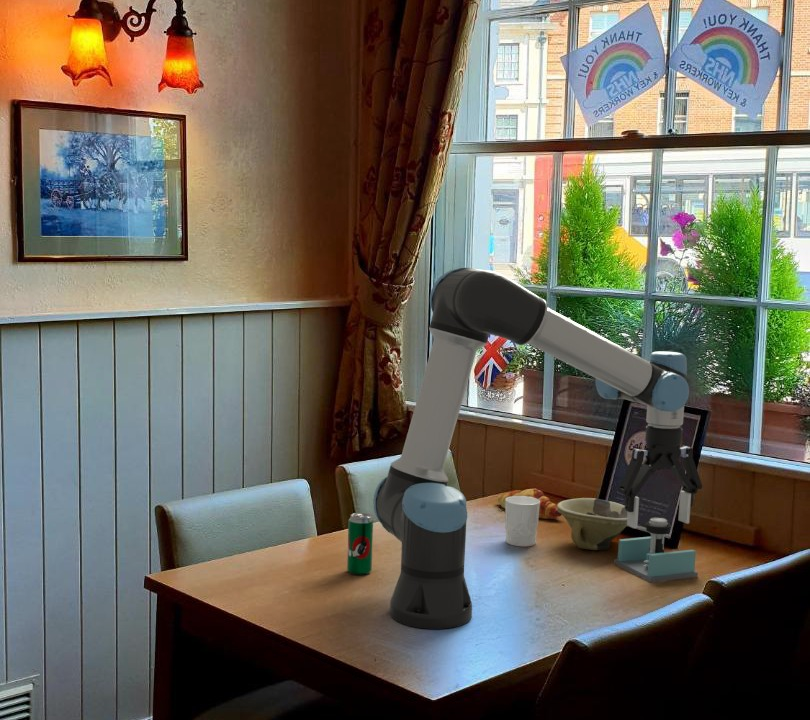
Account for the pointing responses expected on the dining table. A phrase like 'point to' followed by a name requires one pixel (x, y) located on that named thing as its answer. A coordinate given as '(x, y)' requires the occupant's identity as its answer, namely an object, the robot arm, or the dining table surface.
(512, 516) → the white cup
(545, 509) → the croissant
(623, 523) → the bowl
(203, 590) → the dining table surface
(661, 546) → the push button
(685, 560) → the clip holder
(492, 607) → the dining table surface
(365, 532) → the soda can
